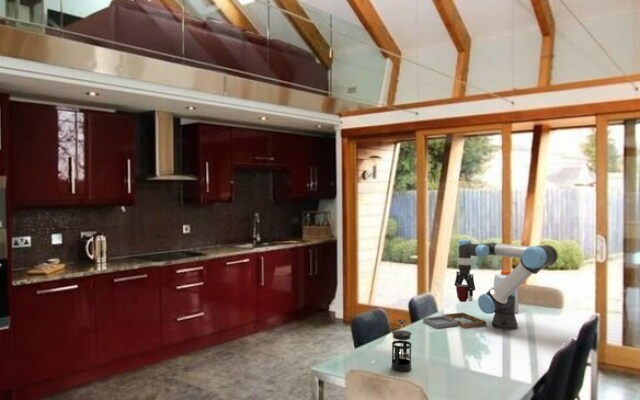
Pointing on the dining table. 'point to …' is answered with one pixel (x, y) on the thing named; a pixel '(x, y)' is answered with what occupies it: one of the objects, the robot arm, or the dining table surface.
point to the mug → (462, 292)
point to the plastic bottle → (499, 279)
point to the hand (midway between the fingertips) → (464, 299)
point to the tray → (440, 322)
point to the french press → (401, 357)
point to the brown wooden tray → (475, 323)
